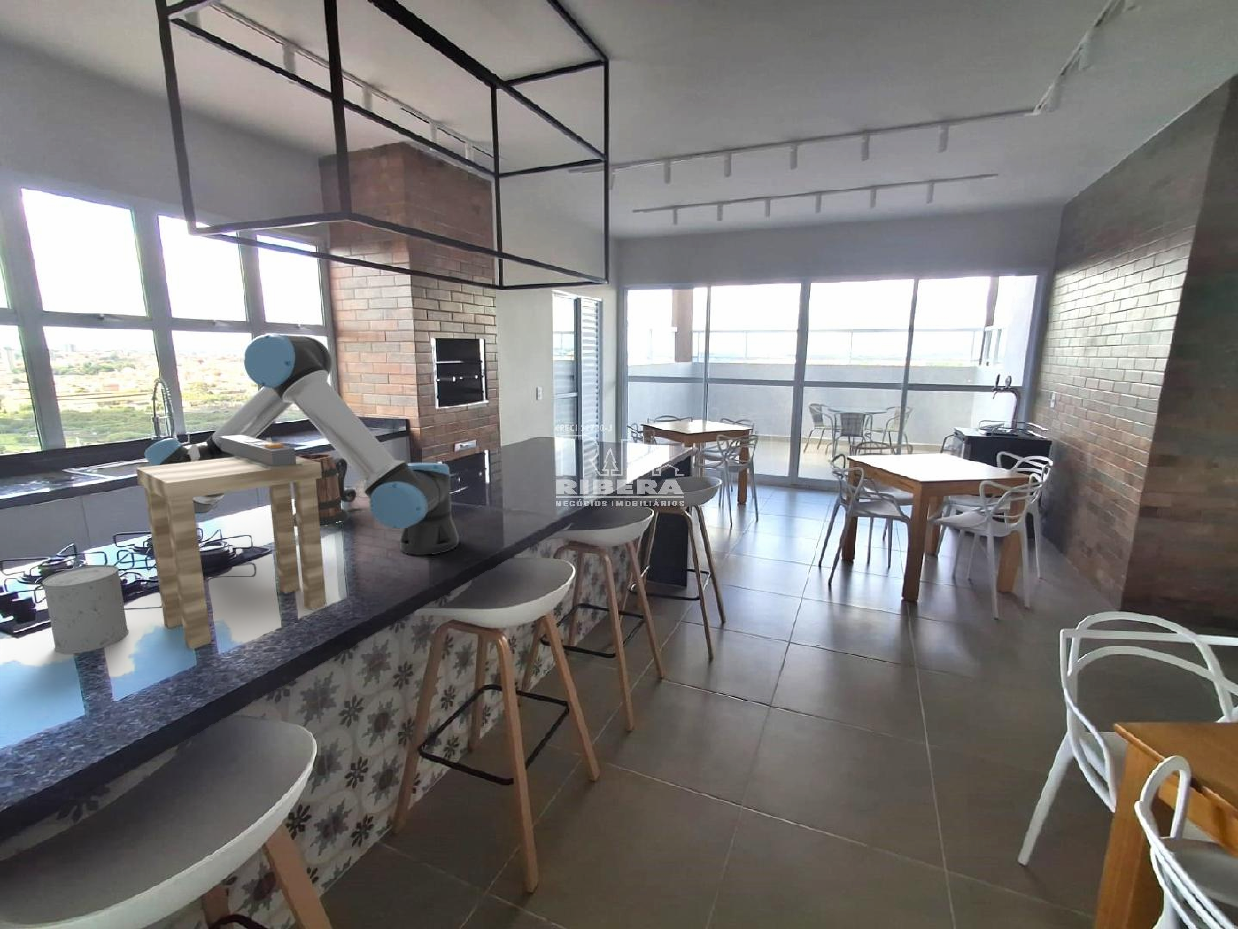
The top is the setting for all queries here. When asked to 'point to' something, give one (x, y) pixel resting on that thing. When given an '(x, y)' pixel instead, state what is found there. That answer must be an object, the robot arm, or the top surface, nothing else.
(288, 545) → the shelf stand
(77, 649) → the speckled concrete cylinder
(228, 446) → the power strip
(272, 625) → the top surface
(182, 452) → the robot arm
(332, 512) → the tankard
